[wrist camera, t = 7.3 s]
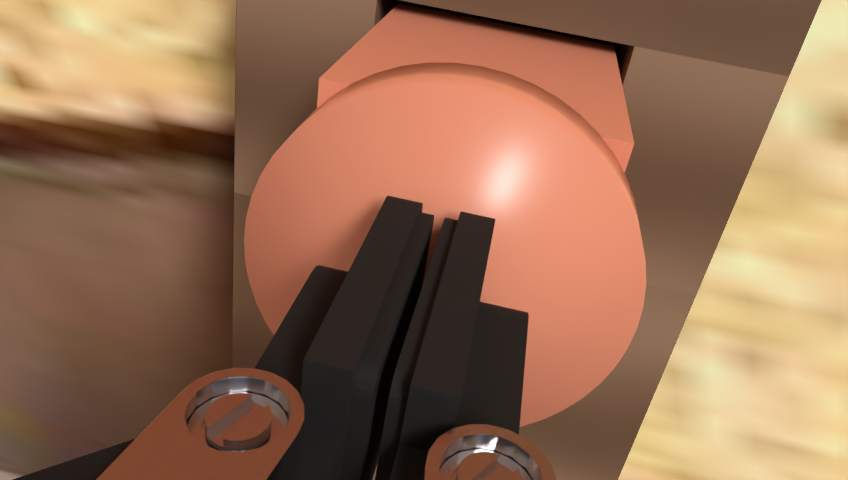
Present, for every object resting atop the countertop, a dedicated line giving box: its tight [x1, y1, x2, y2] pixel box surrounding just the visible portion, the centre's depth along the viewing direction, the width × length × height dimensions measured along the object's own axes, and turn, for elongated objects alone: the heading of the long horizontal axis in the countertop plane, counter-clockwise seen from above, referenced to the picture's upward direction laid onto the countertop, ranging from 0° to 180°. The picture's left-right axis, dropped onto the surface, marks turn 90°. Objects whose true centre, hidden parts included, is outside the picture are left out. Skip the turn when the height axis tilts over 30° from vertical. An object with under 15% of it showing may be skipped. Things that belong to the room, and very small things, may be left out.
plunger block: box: [232, 0, 821, 480], centre depth 23 cm, size 26×12×6 cm, turn 171°
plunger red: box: [244, 4, 646, 427], centre depth 14 cm, size 6×6×7 cm
